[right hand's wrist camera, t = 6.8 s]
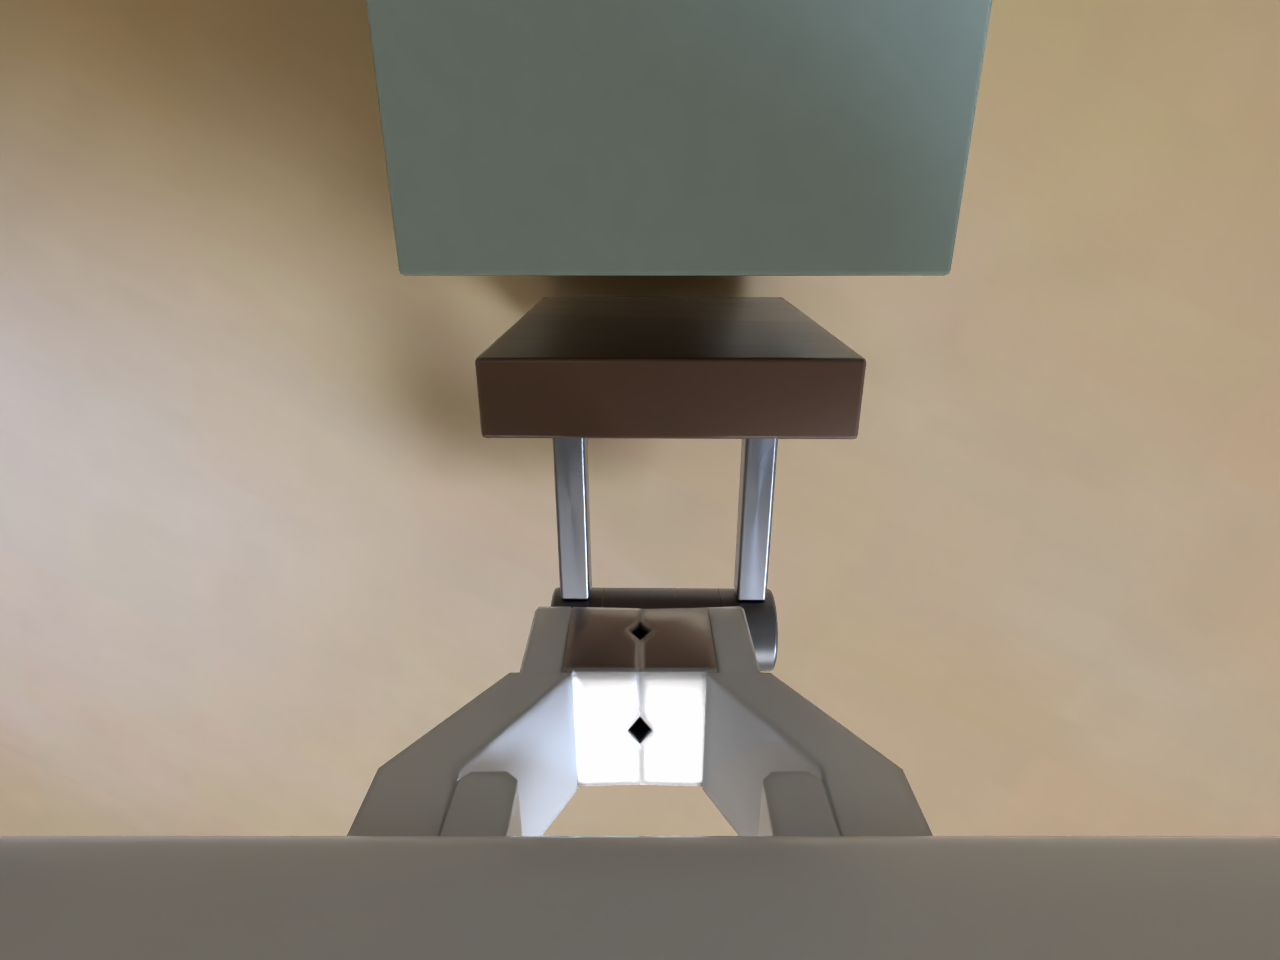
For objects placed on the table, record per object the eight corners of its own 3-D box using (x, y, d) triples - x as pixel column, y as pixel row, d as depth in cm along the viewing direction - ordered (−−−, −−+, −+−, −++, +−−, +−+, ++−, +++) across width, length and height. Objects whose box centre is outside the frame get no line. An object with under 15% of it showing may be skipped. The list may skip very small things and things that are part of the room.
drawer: (763, 576, 19) (819, 764, 12) (557, 574, 19) (509, 761, 13) (864, -832, 10) (1203, -2476, 4) (486, -821, 10) (227, -2414, 4)
